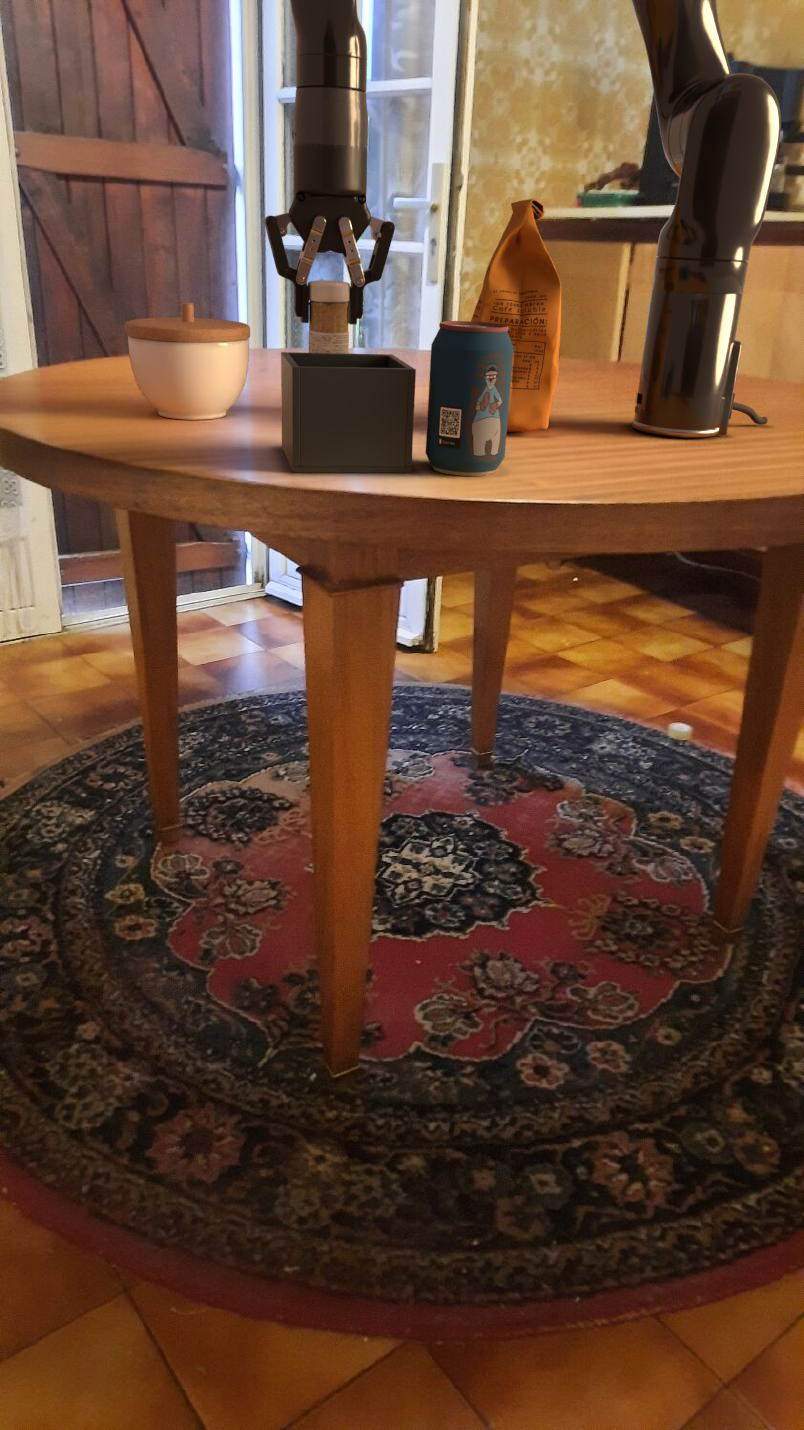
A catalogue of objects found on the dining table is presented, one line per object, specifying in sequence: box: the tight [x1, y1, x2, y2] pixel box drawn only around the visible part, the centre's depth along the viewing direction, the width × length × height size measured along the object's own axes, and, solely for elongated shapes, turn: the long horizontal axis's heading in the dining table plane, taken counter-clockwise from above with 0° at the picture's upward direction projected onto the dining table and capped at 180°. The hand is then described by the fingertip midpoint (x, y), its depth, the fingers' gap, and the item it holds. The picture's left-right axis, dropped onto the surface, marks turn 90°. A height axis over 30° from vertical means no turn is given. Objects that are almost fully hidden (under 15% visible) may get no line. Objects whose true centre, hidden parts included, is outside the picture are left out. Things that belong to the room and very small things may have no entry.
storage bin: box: [280, 351, 417, 474], centre depth 89 cm, size 10×10×8 cm
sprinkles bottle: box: [307, 279, 351, 354], centre depth 112 cm, size 5×5×14 cm
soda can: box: [425, 320, 514, 477], centre depth 87 cm, size 7×7×12 cm
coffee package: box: [470, 197, 562, 433], centre depth 105 cm, size 10×12×22 cm
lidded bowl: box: [124, 302, 251, 421], centre depth 106 cm, size 13×13×11 cm
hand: (328, 322), depth 110 cm, fingers closed on sprinkles bottle, 4 cm apart
